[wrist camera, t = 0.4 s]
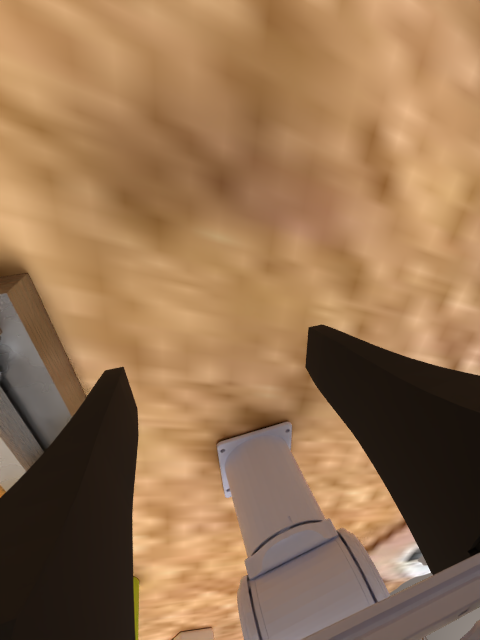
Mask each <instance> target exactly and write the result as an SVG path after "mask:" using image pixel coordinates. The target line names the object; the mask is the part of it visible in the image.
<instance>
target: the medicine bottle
mask: <svg viewBox="0 0 480 640" xmlns="http://www.w3.org/2000/svg"><path fill="white" fill-rule="evenodd" d="M173 640H214V635H213V629H212V628H206V629H199V630H192V631H185V632H180V633H179V634H178V635H177V636H176V637H175V638H174V639H173Z"/></svg>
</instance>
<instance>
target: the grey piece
mask: <svg viewBox="0 0 480 640" xmlns="http://www.w3.org/2000/svg"><path fill="white" fill-rule="evenodd" d="M0 372H1V375H2V379H1V381H0V387H1V388H2V390H3V391H4V393H5V394H6V396H7V397H8V399H9V400H10V402H11V403H12V405H13V406H14V408H15V409H16V411H17V412H18V414H19V415H20V417H21V418H22V420H23V421H24V423H25V424H26V426H27V427H28V429H29V430H30V432H31V433H32V435H33V436H34V438H35V439H36V441H37V442H38V444H39V445H40V447H41V448H42V450H43V451H44V452H45V451H46V449H47V448H48V447H49V446H50V445H51V444H52V442H53V441H54V440H55V439H56V437H57V436H58V435H59V433H60V432H61V431H62V430H63V428H64V427H65V426H66V425H67V423H68V422H69V421H70V420H71V418H72V417H73V415H74V414H75V413H76V411H77V410H78V409H79V407H80V406H81V404H82V403H83V402H84V400H85V399H86V396H85V394H84V392H83V390H82V387H81V385H80V383H79V381H78V379H77V377H76V375H75V372H74V370H73V368H72V366H71V364H70V362H69V360H68V357H67V355H66V353H65V351H64V349H63V347H62V345H61V343H60V340H59V338H58V336H57V334H56V332H55V330H54V328H53V325H52V323H51V321H50V319H49V317H48V315H47V313H46V310H45V308H44V306H43V304H42V302H41V300H40V298H39V296H38V293H37V291H36V289H35V287H34V285H33V283H32V281H31V278H30V276H29V274H28V273H25V274H18V275H11V276H4V277H0Z"/></svg>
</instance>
